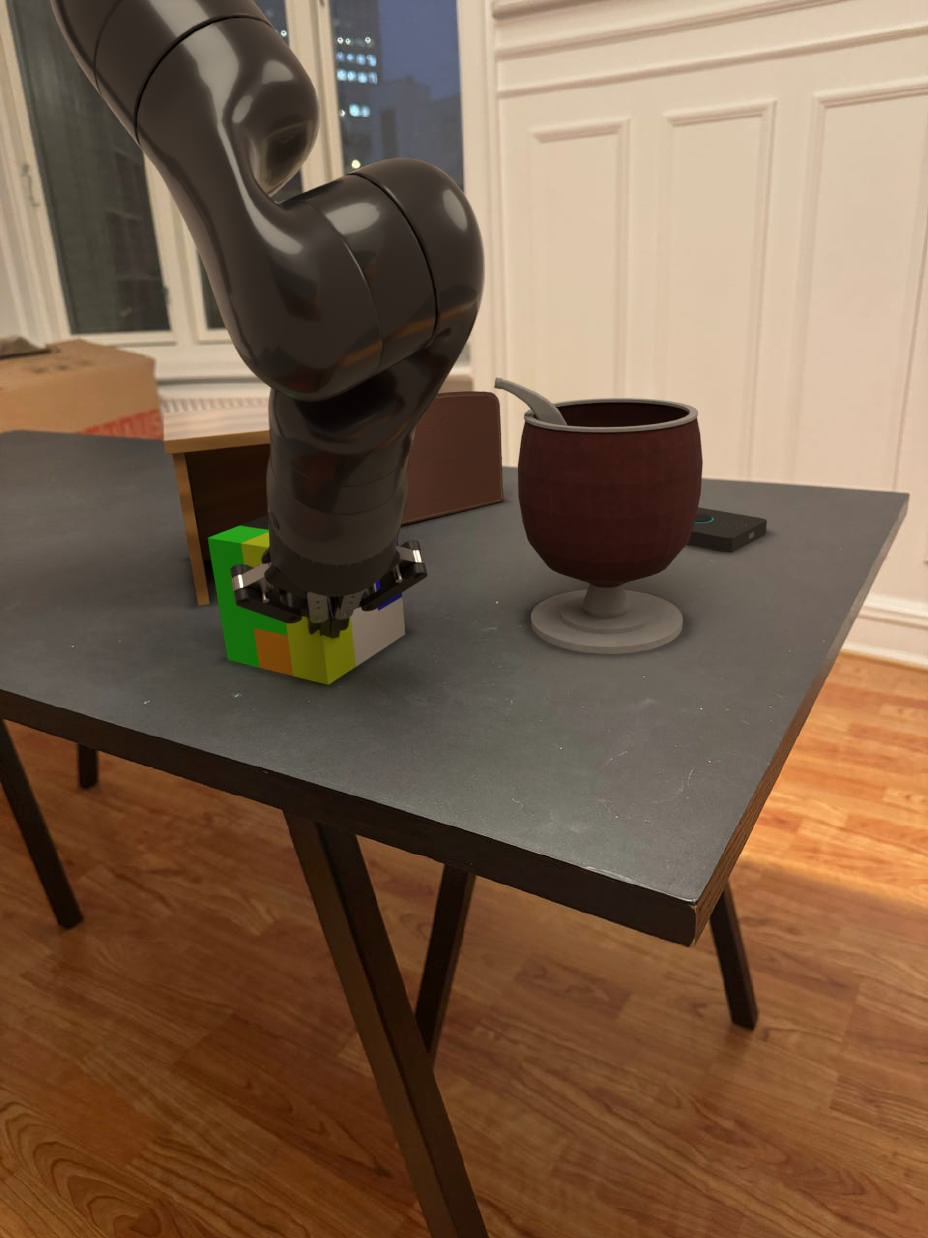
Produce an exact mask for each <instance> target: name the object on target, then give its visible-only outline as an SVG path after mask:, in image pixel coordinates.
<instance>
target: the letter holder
mask: <svg viewBox="0 0 928 1238" xmlns="http://www.w3.org/2000/svg"><path fill="white" fill-rule="evenodd" d="M501 421H502V420H501V404H500V400H499V397H498V396H497V395H496V394H495V393H494V392H492V391H484V390H483V391H478V390H472V391H471V390H466V391H465V390H464V391H449V392H438V394H437V396H436V398H435V399H434V401H433V402H432V403H431V405H430V406H429V408H428V409H427V410H426V412H425V413H424V415H423V416H422V418H421V419H420V421H419V422H418V424H417V426H416V430H415V435H414V440H413V446H412V451H411V456H410V461H409V466H408V491H407V508H406V510H405V513H404V514H403V517H402V522H401V527H403V526H407V525H412V524H416V523H421V522H424V521H430V520H433V519H438V518H442V517H443V518H444V517H447V516H450V515H451V516H452V515H456V514H459V513H464V512H467V511H472V510H476V509H481V508H484V507H488V506H493V505H497V504H501V503H502V504H503V502H504V485H503V482H504V481H503V454H502V451H503V450H502V423H501Z"/></svg>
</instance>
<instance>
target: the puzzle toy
mask: <svg viewBox="0 0 928 1238" xmlns="http://www.w3.org/2000/svg"><path fill="white" fill-rule="evenodd" d="M208 543H209V549H210V555H211V560H210V562H211V567H212V572H213V578H214V584H215V590H216V596H217V603H218V609H219V614H220V622H221V627H222V632H223V639H224V640H223V641H224V645H225V652H226V657H227V660H228V661H232V662H236V663H240V664H244V665H247V666H251V667H255V668H260V669H263V670H268V671H272V672H276V673H279V674H284V675H288V676H292V677H296V678H300V679H303V680H308V681H311V682H315V683H320V684H324V685H328V686H329V685H331V684H332V683H334V682H335V681H336V680H338V679H339V678H341V677H343V676H344V675H345V674H347V673H349V672H350V671H352V670H353V669H355V668H356V667H358V666H359V665H361V664H363V663H364V662H365V661H367V660H368V659H370V658H371V657H373V656H375V655H376V654H378V653H380V651H382V650H383V649H385V648H387V647H388V646H390V645H391V644H393V643H394V642H396V641H398V640H399V639H401V638H402V637H403V636H405V635H406V627H405V615H404V613H405V612H404V601H403V600H404V599H403V592H402V593H401V594H399V595H398V596H396V597H394V598H393V599H391V600H390V601H388V602H387V603H385V604H383V605H382V606H380V607H379V608H377V609H375V610H373V611H362V609H361V607H360V608H357V609H354V611H353V614H352V616H351V617H350V619H349V626H348V628H347V629H346V630H343V631H340V636H339V637H338V638H330V636H329V637H327V636H324V635H321V636H320V631H319V630H317V631H316V632H315V633H313V634H312V635H311V634H310V633H309V629H308V620H307V617H302V620H301V621H299V622H297V623H292V624H288V623H284V622H282V621H279V620H276V619H273V618H270V617H267V616H265V615H262V614H259V613H256V612H253V611H250V610H248V609H245V608H242V607H239V606H237V605H236V602H235V596H234V592H233V586H232V578H231V572H230V568H231V567H233V566H235V565H238V564H246V565H249V566H251V567H254V568H255V567H257V566H259V565H261V564H262V561H261V558H262V555H263V553H264V551H265V550H266V549H267V548H268V547H269V528H268V515H266V516H264V517H261V518H258V519H256V520H253V521H251V522H248V523H245V524H243V525H240V526H238V527H235V528H232V529H230V530H227V531H225V532H222V533H219V534H217V535H214V536H211V537H209V538H208ZM396 546H399V540H398V541H397V545H396ZM374 587H375V591H378V590H379V589H380V581H379V580H378V581H377V582H376V583H375V584H374ZM280 600H281V599H280Z"/></svg>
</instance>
